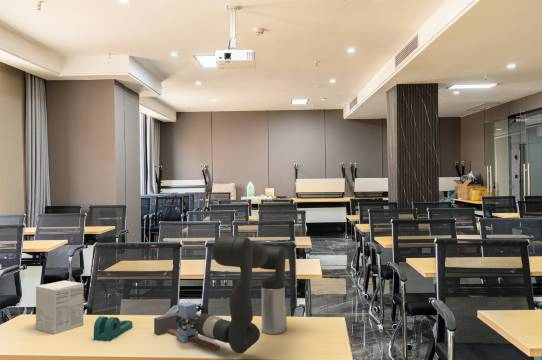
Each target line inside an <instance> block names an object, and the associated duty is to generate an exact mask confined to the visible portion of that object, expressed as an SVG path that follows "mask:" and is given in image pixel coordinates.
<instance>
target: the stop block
mask: <svg viewBox="0 0 542 360" xmlns="http://www.w3.org/2000/svg"><path fill="white" fill-rule="evenodd" d="M177 316H178V312H174V313H173V312H172V313H169V314H165V315H162V316H157V317H154V318H153V321H154V322H153V326H154V327H153V329H154V330H153V334H154V335H157V336H161V335H164V334H168V333H167V330H168V329H172V328H173V329H175V330H178V323H177V322H176V317H177Z"/></svg>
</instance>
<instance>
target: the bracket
mask: <svg viewBox="0 0 542 360" xmlns="http://www.w3.org/2000/svg"><path fill="white" fill-rule="evenodd" d="M131 329H133V321H132V320H120V318H119V317H116V316H115V317H114V316H110V317H108V316H101V315H100V316H98V317H97V318H96V320H95V321H94V325H93V341H97V342H99V341H101V342H111V341H113V340H115V339H116V338H118V337H120V336H121V335H123V334H125V333H126V332H128V331H130V330H131Z"/></svg>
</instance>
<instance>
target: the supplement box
mask: <svg viewBox="0 0 542 360" xmlns="http://www.w3.org/2000/svg"><path fill="white" fill-rule="evenodd" d="M81 326H84V282H83V283H82V282H76V281H70V280H65V279H64V280H60V281H56V282H51V283H45V284H40V285H36V286H35V330H39V331H42V332H46V333H50V334H52V335H56V334H58V333H62V332H66V331H69V330H72V329H75V328H78V327H81Z"/></svg>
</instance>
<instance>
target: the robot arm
mask: <svg viewBox="0 0 542 360" xmlns="http://www.w3.org/2000/svg"><path fill="white" fill-rule="evenodd" d="M212 255H213V256H212V257H213V259H214V261H215V262H216V263H217V264H218V265H220V266H223V267H233V268H239V269H240V271H239V272H240V275H239V279H238V281H237V283H236V284H235V286H234V288H233V289H232V292H231V294H230V296H229V311H230V318H231V319H230V320H227V319H224V318H221V317H219V316H216V315H213V314H209V313H203V312H201V313H197V315H196V317H197V318H196V317H195V318H191V317H188V318H182V317H179V316H177V317H176V322H177V323H178V327H179V328H181V329H182V330H183V331H186V330H187V328H191V329H195V330H196V331H197V333H198V335H200V336H202V337H205V338H208V339H211V340H215V341H219V342H222V343H225V344H229V346H230V349H231V350H232V351H233V352H234V353H235V354H243V353H245V352H247V351H248V350H249V349H250V348H251V347H252V346H253V345H255V344H256V343H257V342H258V341H259V340H260V337H261V332H260V331H262V332H263V333H264V334H268V335H279V334H282V333H284V332H286V330H287V328H288V327H287V325H288V323H287V305H286V304H285V303H286V301H285V300H286V294H285V291H286V289H285V287H286V286H285V285H286V284H285V283H286V282H285V281H286V279H285V278H286V250H285V248H284V247H283V246H278V245H277V246H276V245H275V246H274V245H271V246H270V245H264V244H263V243H261V242H258V241H255V240H254V241H252V240H251V239H250V238H249V237H247V236H241V235H228V234H227V235H221V236H220V237H217V239H216V240H215V241H214V243H213V245H212ZM253 269H261V270H270V271H275V272H274V274H273V275H270V276H268V277H267V276H266V277H264V278H262V280H261V284H260V285H261V330H260V328H259V327H258V326H257V325H256V324H255V323H253V319H254V311H253V300H252V280H253V279H252V278H253ZM185 321H186V322H185Z"/></svg>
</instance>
